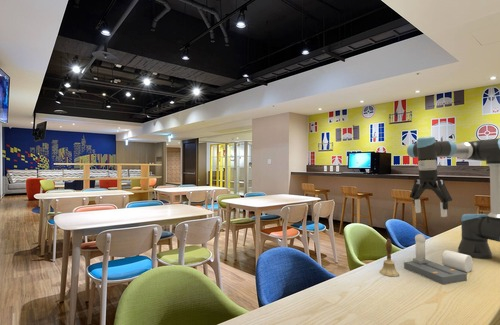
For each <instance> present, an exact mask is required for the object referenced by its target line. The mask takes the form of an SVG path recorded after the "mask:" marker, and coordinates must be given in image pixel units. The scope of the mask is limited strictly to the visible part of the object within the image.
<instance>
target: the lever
mask: <svg viewBox="0 0 500 325" xmlns="http://www.w3.org/2000/svg"><path fill="white" fill-rule="evenodd" d="M426 240H427V239H426V236H425V235H423V234H420V233H418V234H416V235H415V237H414V241H415V258H412V261H414V262H416V263H419V264H423V263H428V260H429V259H426Z"/></svg>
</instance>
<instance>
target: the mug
mask: <svg viewBox="0 0 500 325" xmlns="http://www.w3.org/2000/svg"><path fill="white" fill-rule="evenodd" d="M441 263H442V265H444V266H446V267H449V268H452V269H455V270H458V271H461V272H464V273H470V272H471V271H472V269H473V265H474V264H473V257H471V256H470V255H466V254H461V253H458V251H452V250H449V249H448V250H447V249H445V250H444V251H443V253H442V255H441Z"/></svg>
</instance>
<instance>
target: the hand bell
mask: <svg viewBox="0 0 500 325" xmlns="http://www.w3.org/2000/svg"><path fill="white" fill-rule="evenodd" d="M392 243H393V242H392V241H391V239H390V238H387V239H386V242H385V250H386V260H384V261H383V266H382V268H381V269H380V270H379V273H380V274H381V275H383V276H386V277H391V278H392V277H398V276H400V272H398V270H397V268H396V266H395V262H394V261H393V260H392V259H391V258H392V254H391V253H392V249H393V244H392Z"/></svg>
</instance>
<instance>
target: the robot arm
mask: <svg viewBox="0 0 500 325" xmlns="http://www.w3.org/2000/svg"><path fill="white" fill-rule="evenodd" d="M406 153H407V155H408V157H410V158H415V159H417V163H418V166H417V167H418V170H419V171H418V178H419V179H414V180H413V181H414V182H413V187H412V189H411V192H410V195H409V198H410V199H412V200H413V206H414V211H415V214H420V213H422V208H421V199H420V197H421V196H422V195H423V193H424V192H425V190H430V191H432V192H433V193H435V195H436V197H438V198H439V200H440V202H439V207H440V218H445V217H446V218H447V217H448V209H449V205H448V204H449V202H452V201H453V198H452V196H451V195H450V192H449V190H448V189H447V187H446V184H445V180H444V179H439V180H438V179H437V178H439V176H438V170H437V169H438V164H437V163H438V162H437V158H459V159H460V160H471V161H479V162H481V161H483V162H485V164H486V166H488V167H489V182H490V183H489V186H490V195H489V196H490V212H489V213H464V214H462V215H461V220H460V222H461V223H460V226H461V228H460V229H461V240H460V243H459V244H458V247H457V253H461V254H466V255H470V256H471V257H472V258H476V259H488V260H489V259H492V258H493V252H492V250H491V248H490V244H489V242H488V240H489V241H494V242H498V243H500V138H489V139H479V140H474V141H473V140H472V141H463V142H462V141H461V142H460V143H455V142H453V141H451V140H450V141H449V140H436V137H435V136H423V137H422V136H421V137H418V138H417V140H416V142H415V143H411V144H409V145H408V146H407V148H406Z"/></svg>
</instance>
